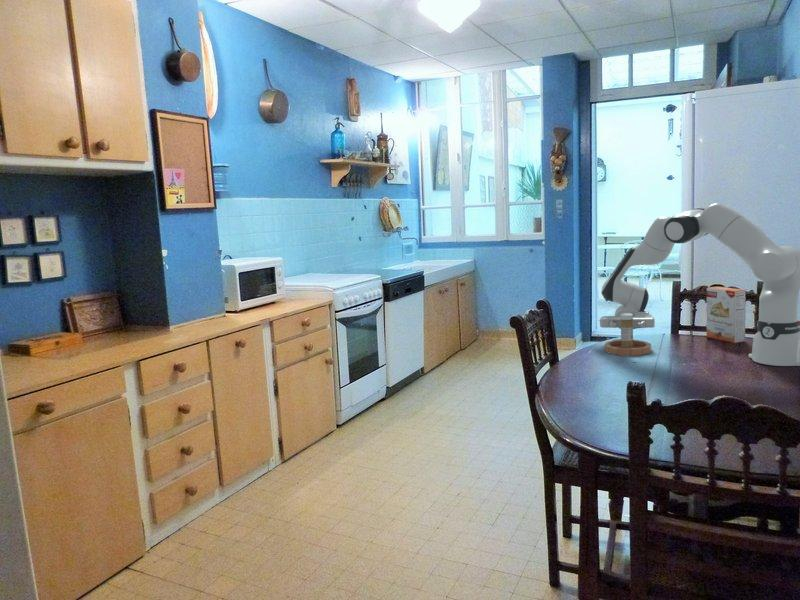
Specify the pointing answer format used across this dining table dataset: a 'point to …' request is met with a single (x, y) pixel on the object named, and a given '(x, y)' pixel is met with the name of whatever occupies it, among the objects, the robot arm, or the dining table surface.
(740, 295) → the cracker box
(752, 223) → the robot arm
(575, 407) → the dining table surface
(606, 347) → the terracotta saucer
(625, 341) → the sprinkles bottle
